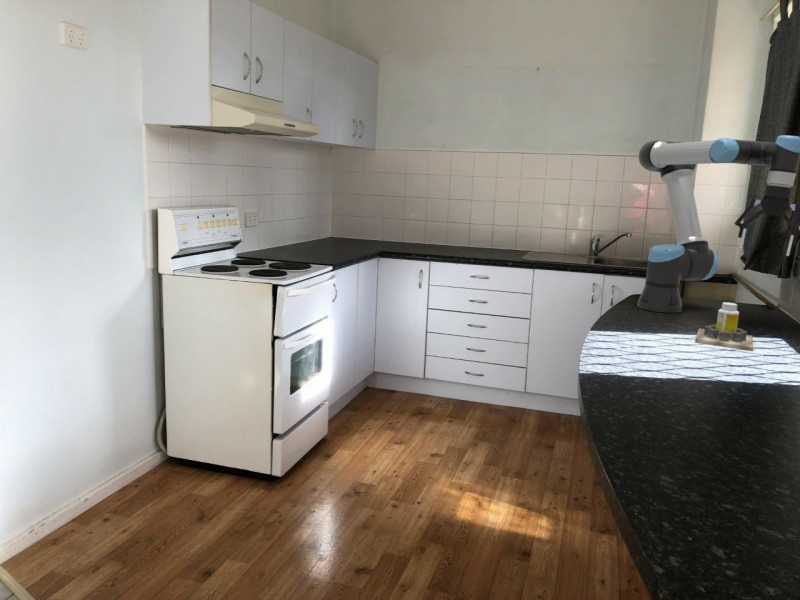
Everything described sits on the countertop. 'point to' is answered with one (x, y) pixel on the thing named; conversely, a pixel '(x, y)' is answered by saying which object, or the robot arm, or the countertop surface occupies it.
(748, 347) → the collar plate
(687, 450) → the countertop surface
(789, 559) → the countertop surface
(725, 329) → the supplement bottle
